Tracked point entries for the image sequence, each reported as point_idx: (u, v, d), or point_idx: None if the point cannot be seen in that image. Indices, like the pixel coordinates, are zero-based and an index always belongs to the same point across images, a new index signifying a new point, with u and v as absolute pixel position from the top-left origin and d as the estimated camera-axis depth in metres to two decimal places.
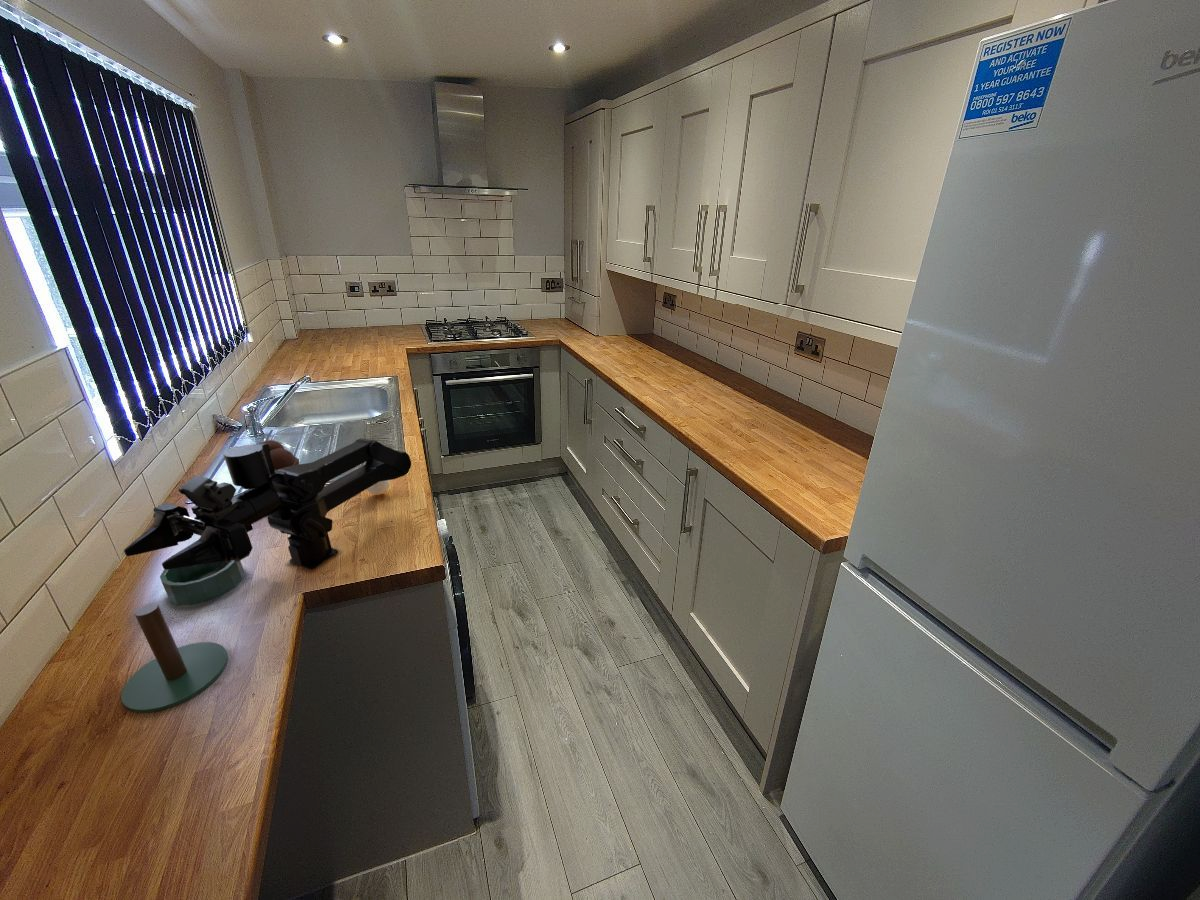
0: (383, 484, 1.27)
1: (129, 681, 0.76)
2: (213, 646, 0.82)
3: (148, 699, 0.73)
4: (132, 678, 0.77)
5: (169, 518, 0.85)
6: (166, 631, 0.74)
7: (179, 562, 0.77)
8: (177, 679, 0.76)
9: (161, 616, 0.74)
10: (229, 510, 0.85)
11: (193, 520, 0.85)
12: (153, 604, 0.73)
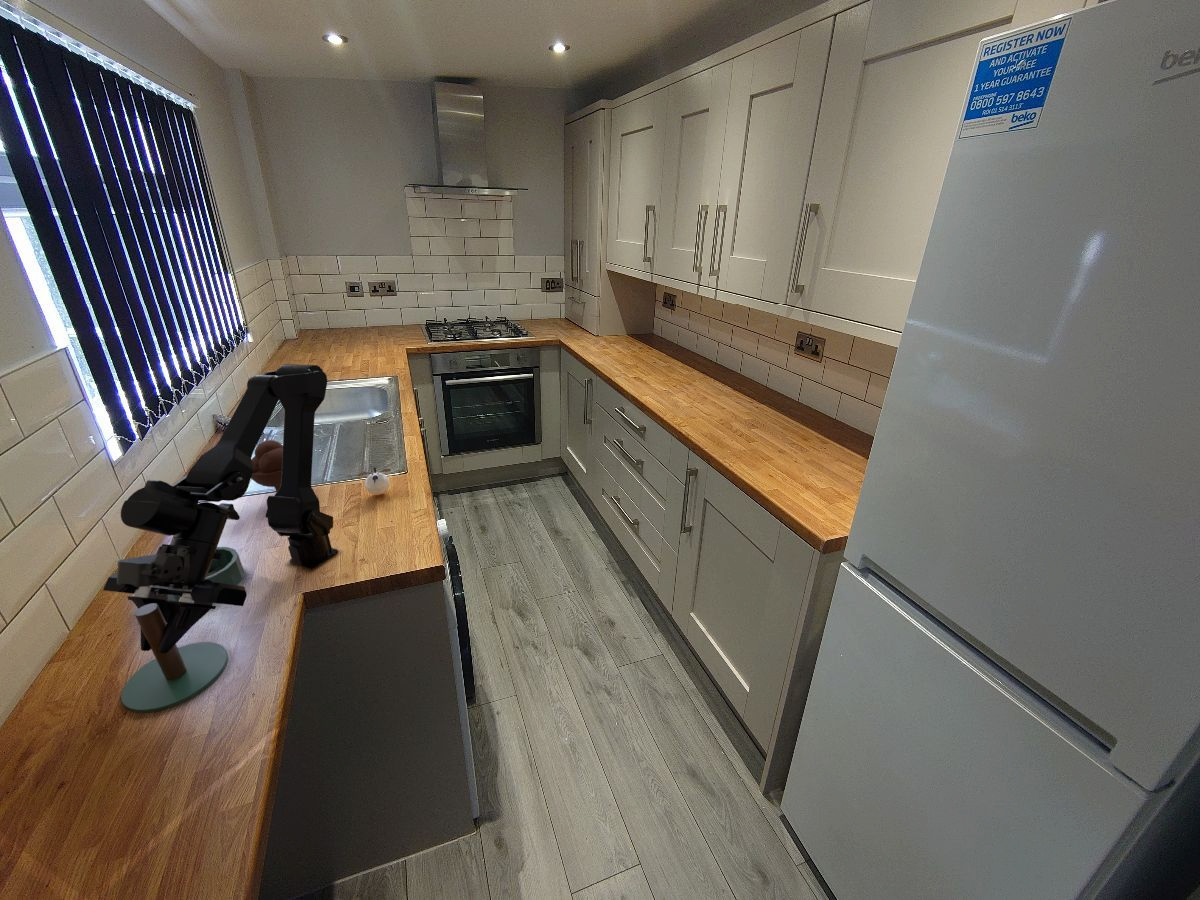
0: (383, 484, 1.27)
1: (129, 681, 0.76)
2: (213, 646, 0.82)
3: (148, 699, 0.73)
4: (132, 678, 0.77)
5: (149, 595, 0.75)
6: None
7: (172, 639, 0.75)
8: (177, 679, 0.76)
9: (161, 616, 0.74)
10: (187, 566, 0.75)
11: (177, 590, 0.75)
12: (153, 604, 0.73)
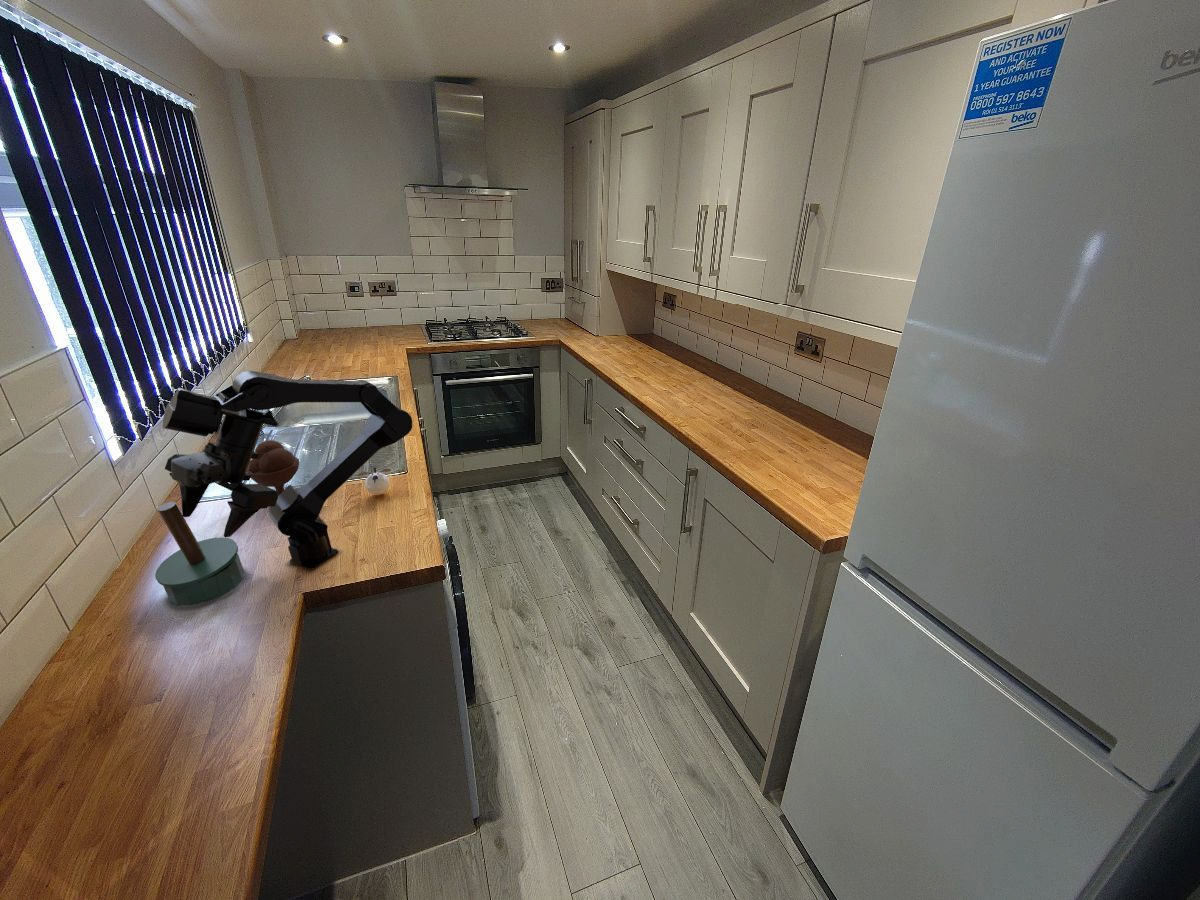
0: (383, 484, 1.27)
1: None
2: (232, 551, 0.97)
3: (166, 570, 0.93)
4: None
5: None
6: (177, 528, 0.90)
7: (234, 528, 0.90)
8: (190, 565, 0.94)
9: (174, 516, 0.89)
10: (228, 469, 0.87)
11: None
12: (173, 504, 0.90)
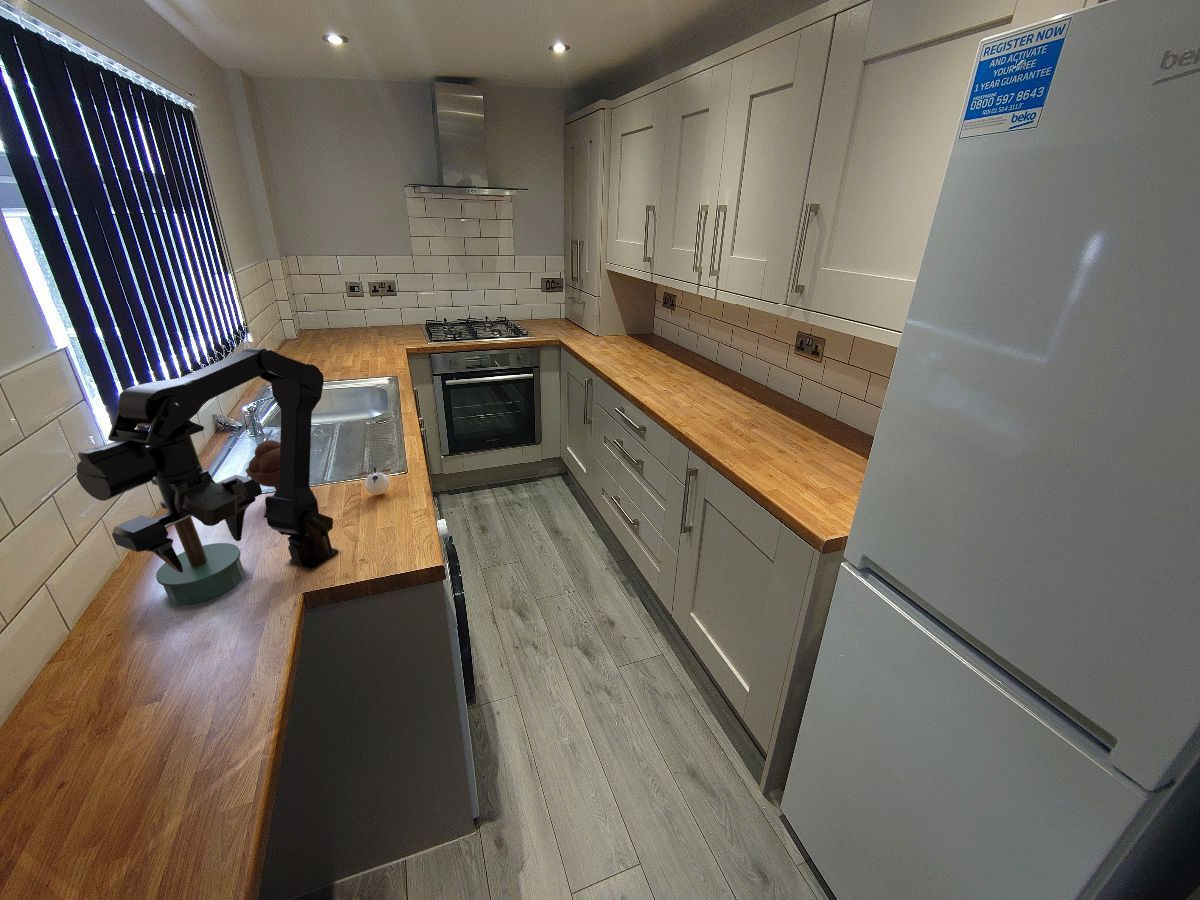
0: (383, 484, 1.27)
1: None
2: (234, 556, 0.97)
3: (167, 571, 0.93)
4: None
5: None
6: (184, 528, 0.91)
7: None
8: (191, 567, 0.94)
9: None
10: None
11: (189, 516, 0.79)
12: None
